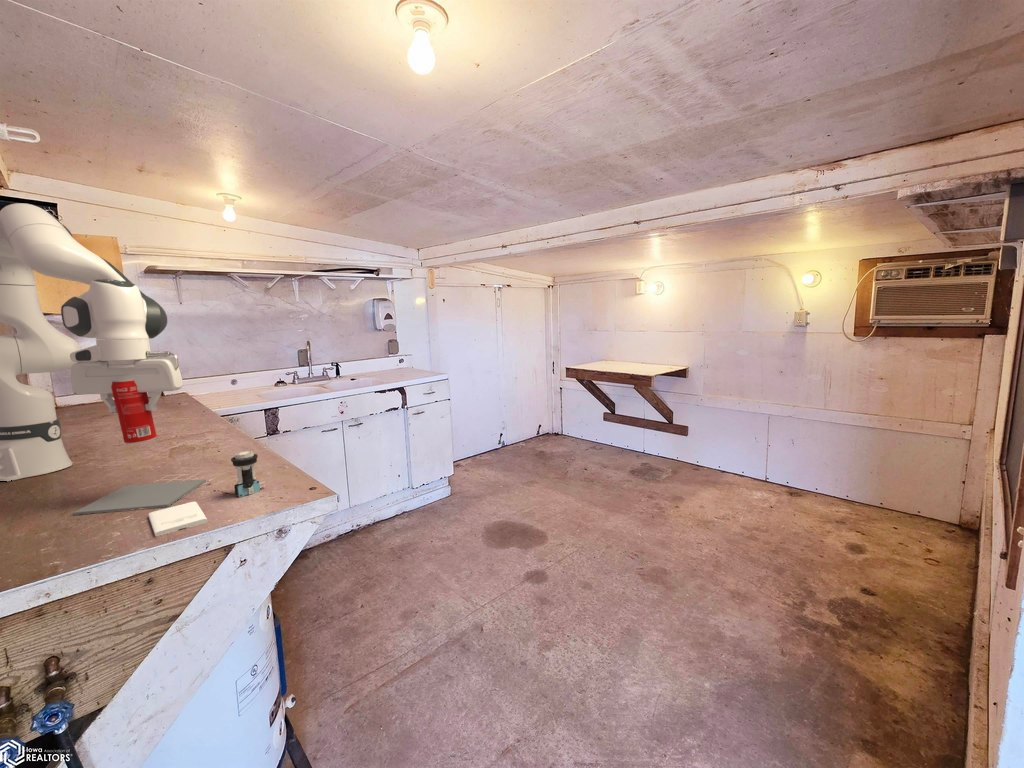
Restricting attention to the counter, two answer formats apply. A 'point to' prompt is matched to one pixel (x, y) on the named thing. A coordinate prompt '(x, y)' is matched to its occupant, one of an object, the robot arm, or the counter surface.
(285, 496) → the counter surface
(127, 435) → the beverage can
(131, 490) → the mat
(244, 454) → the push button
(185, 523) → the external hard drive
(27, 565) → the counter surface
